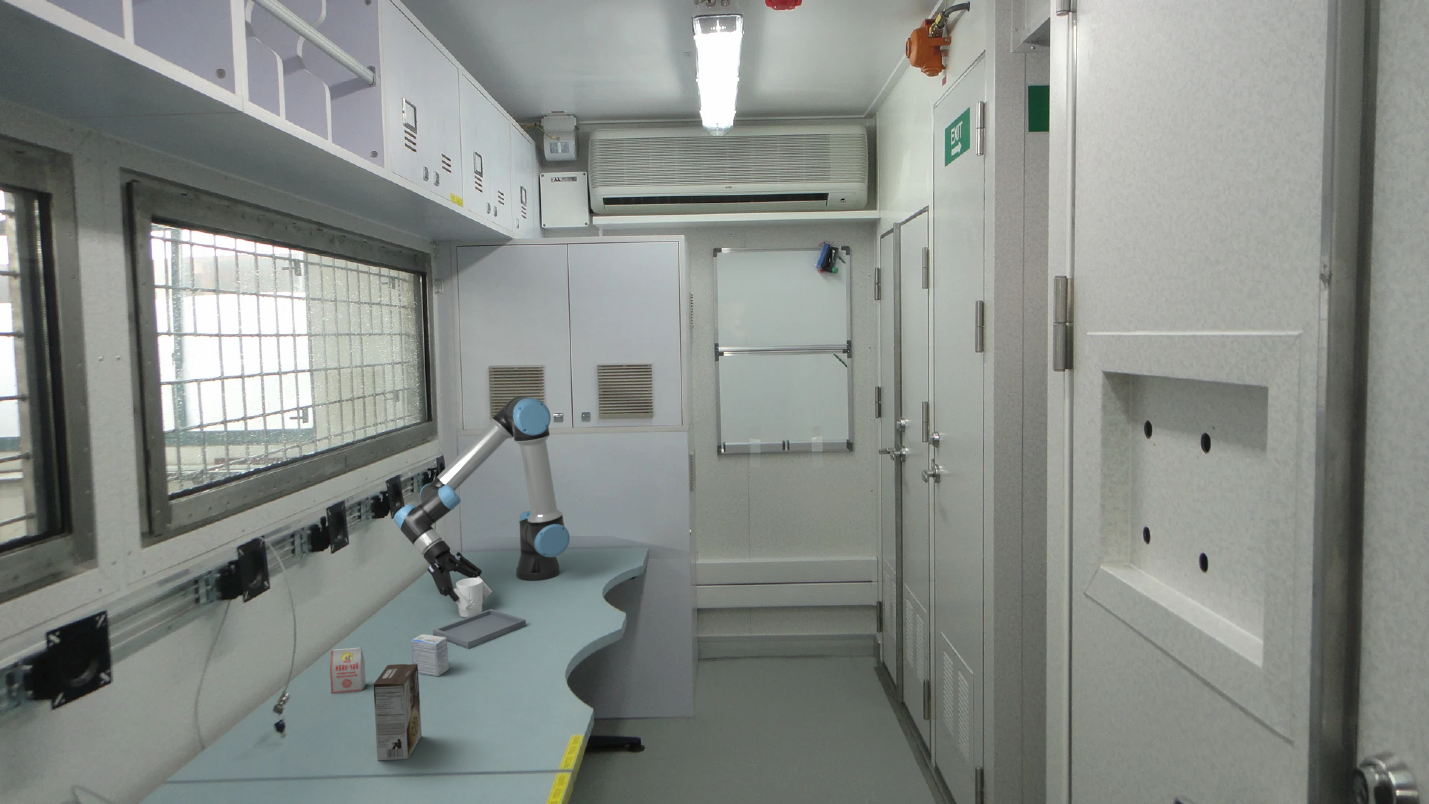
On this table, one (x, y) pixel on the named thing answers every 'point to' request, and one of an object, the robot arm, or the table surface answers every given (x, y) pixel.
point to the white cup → (471, 595)
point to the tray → (479, 628)
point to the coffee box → (397, 711)
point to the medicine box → (430, 654)
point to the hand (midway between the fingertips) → (477, 601)
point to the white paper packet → (347, 670)
